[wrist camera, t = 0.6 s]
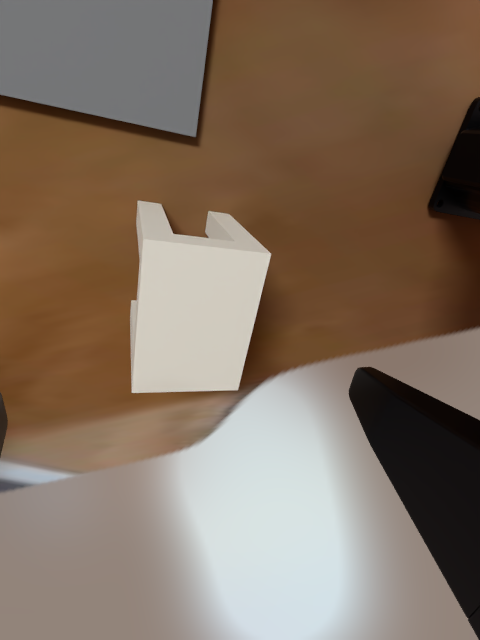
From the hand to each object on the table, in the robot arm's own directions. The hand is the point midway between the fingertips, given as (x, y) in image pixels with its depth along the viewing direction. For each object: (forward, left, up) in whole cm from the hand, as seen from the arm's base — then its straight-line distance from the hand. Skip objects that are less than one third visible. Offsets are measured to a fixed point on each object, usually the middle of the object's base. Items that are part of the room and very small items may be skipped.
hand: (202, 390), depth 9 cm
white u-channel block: (-1, +1, -13) cm, 13 cm away
